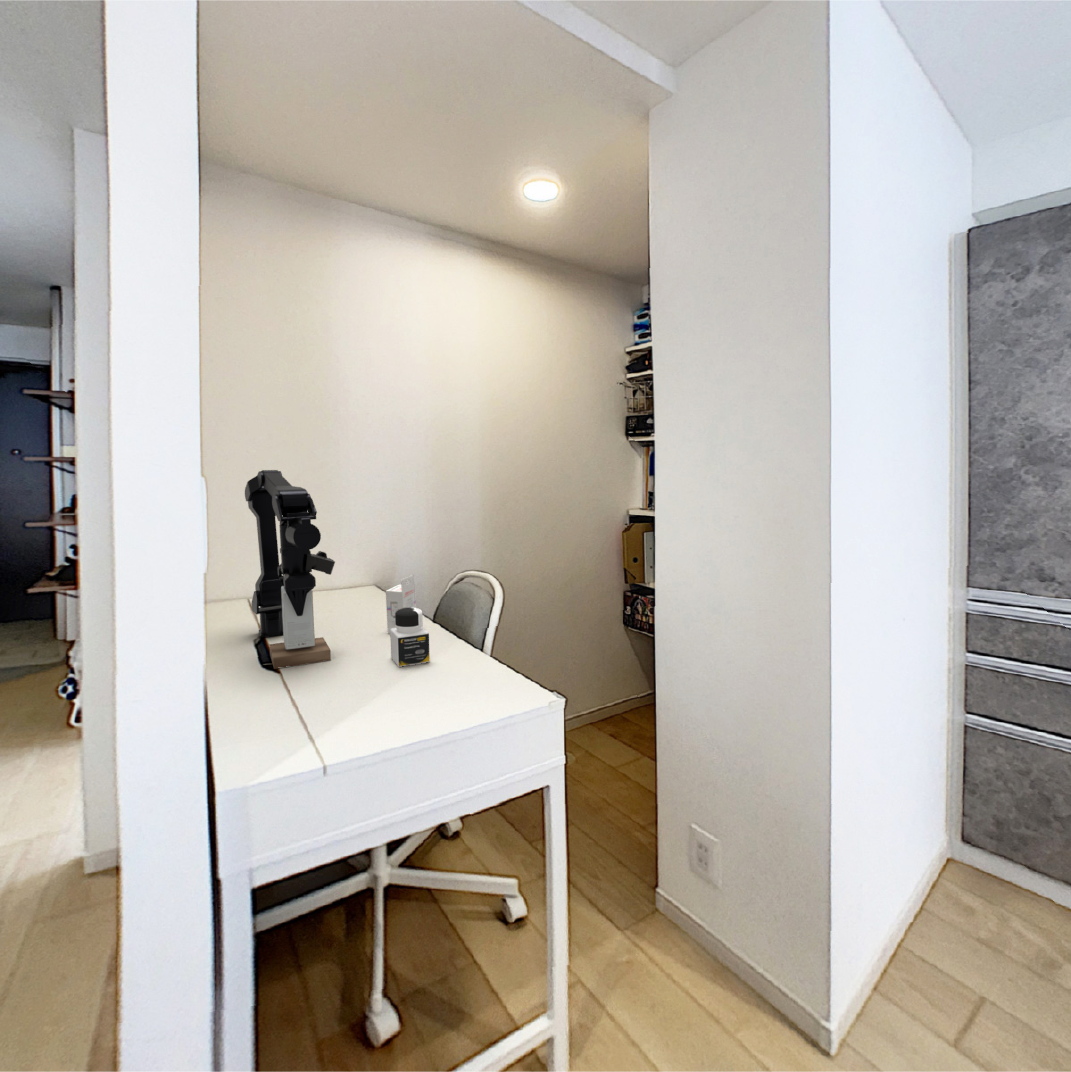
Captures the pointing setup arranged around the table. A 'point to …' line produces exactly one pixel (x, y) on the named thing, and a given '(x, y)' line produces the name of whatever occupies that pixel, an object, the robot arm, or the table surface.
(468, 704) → the table surface
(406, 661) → the medicine bottle
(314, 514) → the robot arm
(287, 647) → the small box
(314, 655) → the brown wooden slab
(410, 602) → the ink cartridge box
